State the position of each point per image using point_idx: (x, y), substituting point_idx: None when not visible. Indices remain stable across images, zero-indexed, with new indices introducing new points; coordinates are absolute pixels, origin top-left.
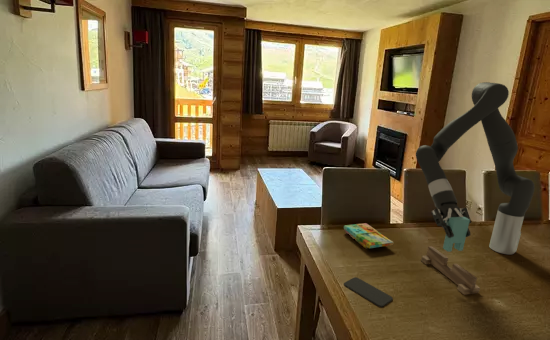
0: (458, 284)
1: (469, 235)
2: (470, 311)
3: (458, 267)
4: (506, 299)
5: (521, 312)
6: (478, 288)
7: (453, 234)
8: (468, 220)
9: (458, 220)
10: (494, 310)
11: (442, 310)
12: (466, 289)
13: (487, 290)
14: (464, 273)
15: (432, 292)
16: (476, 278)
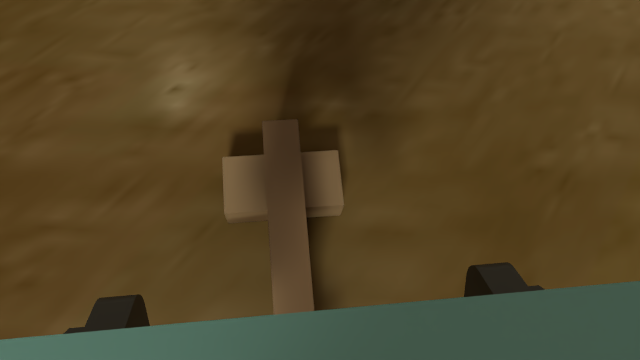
0: (343, 203)
1: (122, 299)
2: (396, 44)
3: (305, 266)
4: (105, 103)
5: (129, 10)
6: (233, 157)
7: (482, 274)
8: (29, 342)
9: (514, 293)
10: (262, 37)
11: (536, 65)
12: (327, 151)
13: (144, 189)
14: (304, 197)
15: (515, 200)
16: (265, 123)
